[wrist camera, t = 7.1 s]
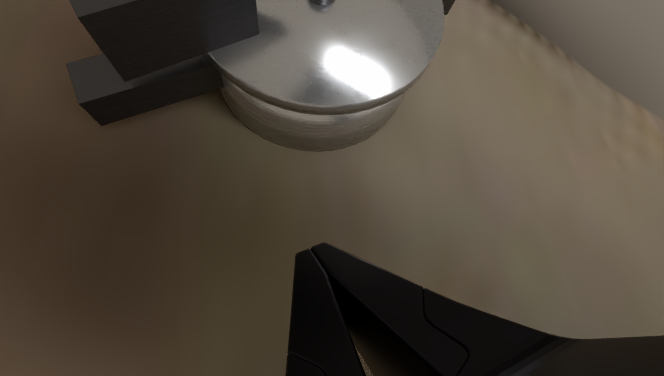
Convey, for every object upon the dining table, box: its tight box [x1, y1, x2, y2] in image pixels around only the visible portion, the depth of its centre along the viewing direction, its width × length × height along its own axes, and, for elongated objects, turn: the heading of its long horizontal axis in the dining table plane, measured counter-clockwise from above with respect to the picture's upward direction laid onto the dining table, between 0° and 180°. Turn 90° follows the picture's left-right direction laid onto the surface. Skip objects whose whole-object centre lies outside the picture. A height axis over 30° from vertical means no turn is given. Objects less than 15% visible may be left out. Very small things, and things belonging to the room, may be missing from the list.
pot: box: [66, 0, 455, 151], centre depth 22 cm, size 14×24×5 cm, turn 116°
